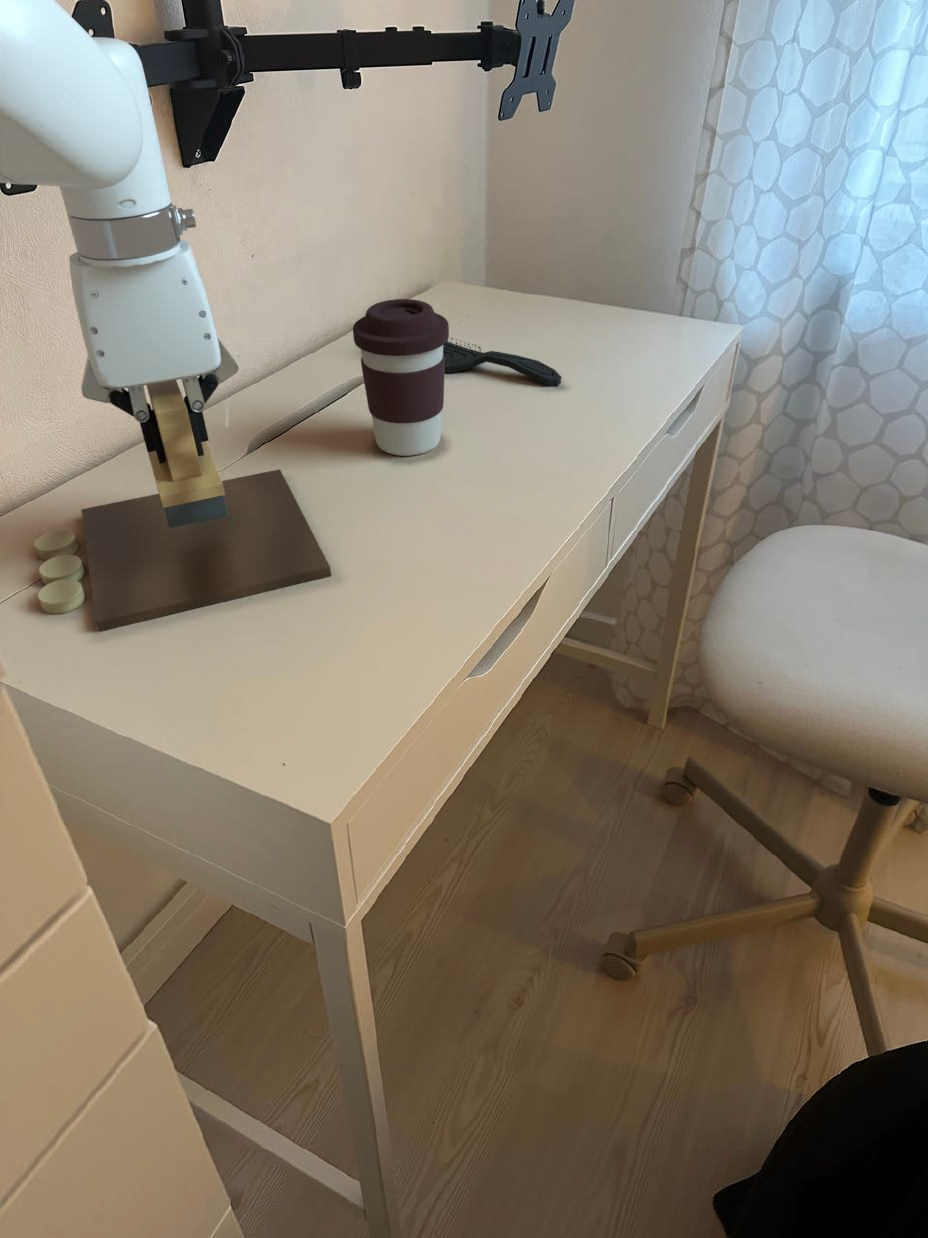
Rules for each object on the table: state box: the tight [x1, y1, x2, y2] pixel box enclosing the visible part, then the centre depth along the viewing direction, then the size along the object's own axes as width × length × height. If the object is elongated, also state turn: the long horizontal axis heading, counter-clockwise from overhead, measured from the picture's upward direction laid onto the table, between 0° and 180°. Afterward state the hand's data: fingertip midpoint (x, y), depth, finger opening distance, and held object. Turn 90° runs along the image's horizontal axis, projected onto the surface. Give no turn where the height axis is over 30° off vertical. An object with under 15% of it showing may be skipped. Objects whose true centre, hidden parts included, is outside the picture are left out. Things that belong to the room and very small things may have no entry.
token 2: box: [38, 554, 86, 586], centre depth 81 cm, size 4×4×1 cm
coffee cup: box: [352, 298, 450, 457], centre depth 96 cm, size 10×10×15 cm
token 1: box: [34, 529, 79, 561], centre depth 84 cm, size 4×4×1 cm
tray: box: [81, 468, 332, 632], centre depth 84 cm, size 20×20×1 cm
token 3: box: [37, 579, 86, 615], centre depth 77 cm, size 4×4×1 cm
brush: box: [145, 380, 228, 528], centre depth 78 cm, size 5×12×10 cm, turn 22°
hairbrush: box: [443, 337, 562, 387], centre depth 116 cm, size 8×4×25 cm
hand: (179, 451), depth 79 cm, fingers closed on brush, 2 cm apart
